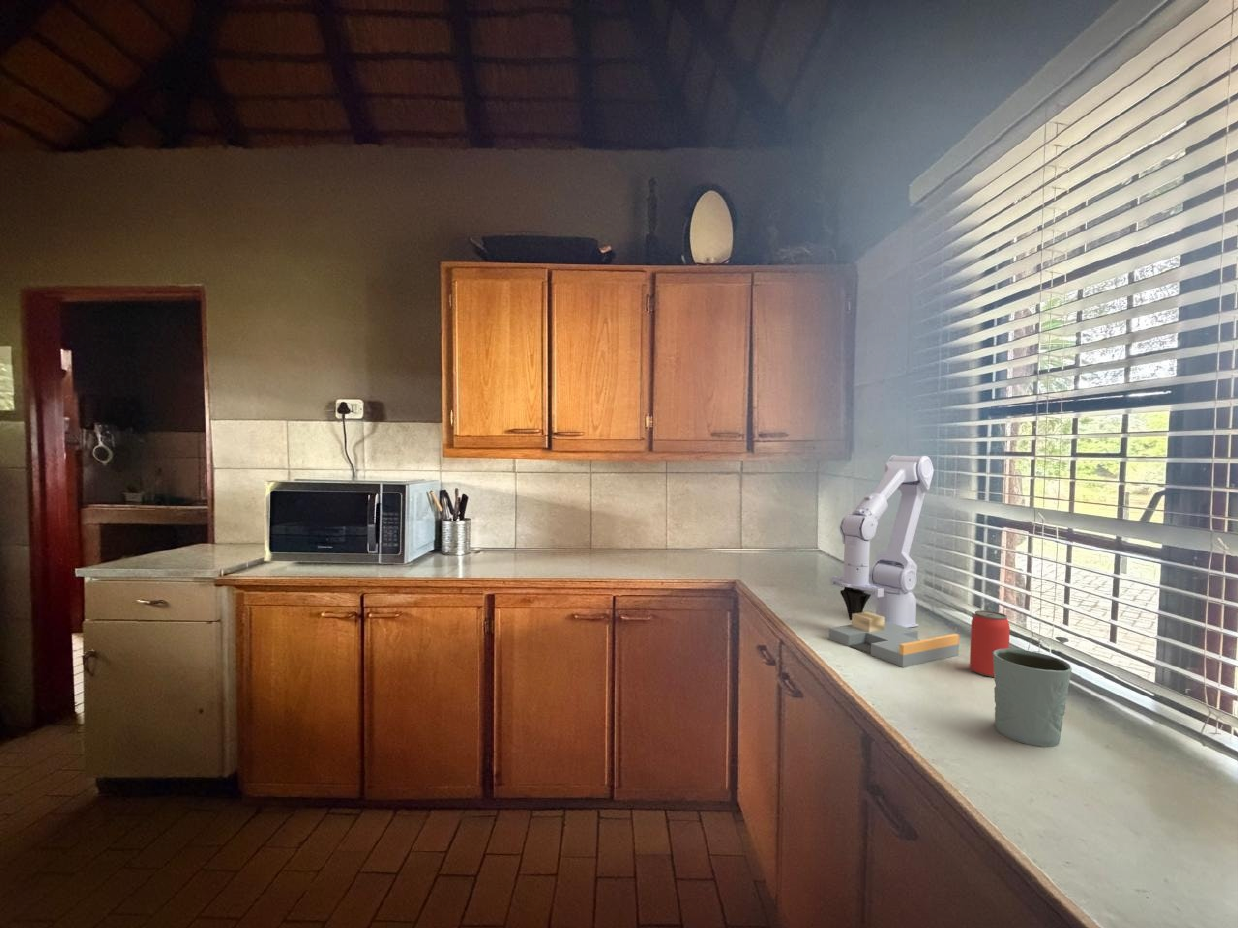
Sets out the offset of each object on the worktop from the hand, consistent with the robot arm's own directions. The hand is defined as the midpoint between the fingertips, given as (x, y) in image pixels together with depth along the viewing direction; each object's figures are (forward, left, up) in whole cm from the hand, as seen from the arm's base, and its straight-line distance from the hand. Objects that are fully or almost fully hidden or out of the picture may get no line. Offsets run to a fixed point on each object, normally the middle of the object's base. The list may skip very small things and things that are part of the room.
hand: (854, 619), depth 145 cm
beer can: (-5, +29, -3) cm, 30 cm away
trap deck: (0, +10, -3) cm, 11 cm away
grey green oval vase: (+16, +48, -3) cm, 51 cm away
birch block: (0, +4, -1) cm, 4 cm away
